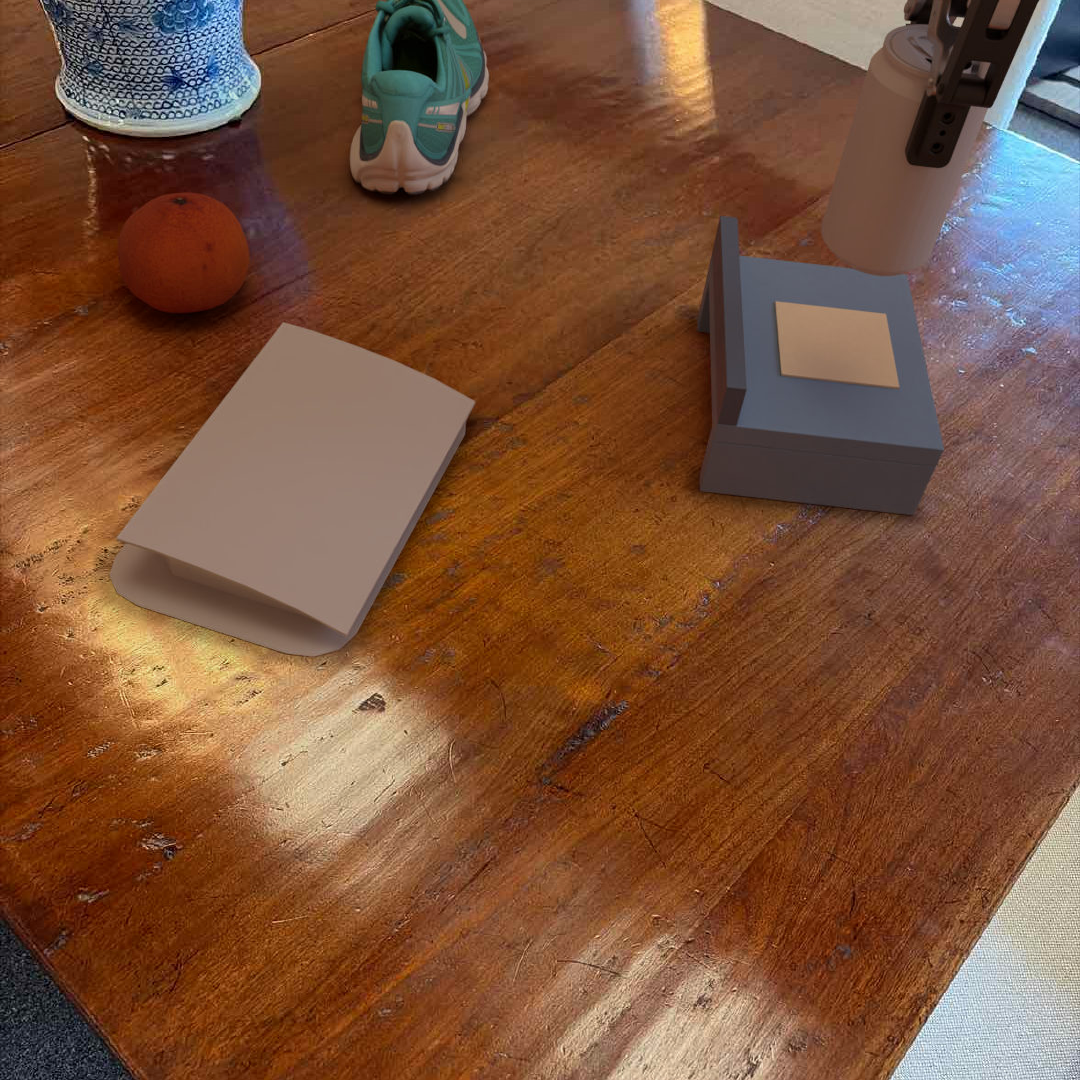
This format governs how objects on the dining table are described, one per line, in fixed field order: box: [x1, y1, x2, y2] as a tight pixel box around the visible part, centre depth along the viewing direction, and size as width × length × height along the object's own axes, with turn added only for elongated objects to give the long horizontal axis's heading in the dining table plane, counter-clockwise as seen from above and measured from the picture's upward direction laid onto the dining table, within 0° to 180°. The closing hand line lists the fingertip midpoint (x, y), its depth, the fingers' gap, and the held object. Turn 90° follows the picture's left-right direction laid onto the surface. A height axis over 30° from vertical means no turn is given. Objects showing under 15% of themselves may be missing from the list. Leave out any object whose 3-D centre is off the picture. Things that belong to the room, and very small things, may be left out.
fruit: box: [117, 191, 250, 314], centre depth 83 cm, size 9×9×8 cm
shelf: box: [696, 215, 945, 516], centre depth 80 cm, size 14×18×9 cm
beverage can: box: [820, 24, 989, 276], centre depth 64 cm, size 6×6×12 cm
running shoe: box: [349, 0, 490, 196], centre depth 101 cm, size 11×29×11 cm, turn 1°
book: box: [108, 321, 476, 658], centre depth 73 cm, size 15×23×4 cm, turn 162°
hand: (915, 126), depth 63 cm, fingers closed on beverage can, 6 cm apart
